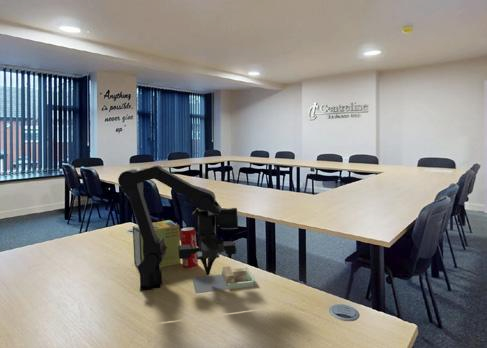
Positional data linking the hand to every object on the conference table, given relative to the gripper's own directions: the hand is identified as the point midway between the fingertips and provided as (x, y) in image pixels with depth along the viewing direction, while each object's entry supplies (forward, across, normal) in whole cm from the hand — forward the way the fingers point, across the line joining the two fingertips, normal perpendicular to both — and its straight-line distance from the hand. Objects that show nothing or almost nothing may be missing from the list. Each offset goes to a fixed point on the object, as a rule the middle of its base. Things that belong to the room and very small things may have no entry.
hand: (207, 274), depth 111 cm
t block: (+3, +10, 0) cm, 10 cm away
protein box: (+4, -17, +23) cm, 29 cm away
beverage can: (+4, -5, +17) cm, 18 cm away
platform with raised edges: (+4, +5, 0) cm, 6 cm away
